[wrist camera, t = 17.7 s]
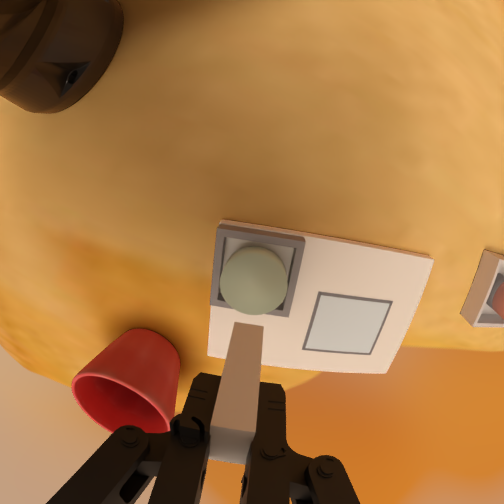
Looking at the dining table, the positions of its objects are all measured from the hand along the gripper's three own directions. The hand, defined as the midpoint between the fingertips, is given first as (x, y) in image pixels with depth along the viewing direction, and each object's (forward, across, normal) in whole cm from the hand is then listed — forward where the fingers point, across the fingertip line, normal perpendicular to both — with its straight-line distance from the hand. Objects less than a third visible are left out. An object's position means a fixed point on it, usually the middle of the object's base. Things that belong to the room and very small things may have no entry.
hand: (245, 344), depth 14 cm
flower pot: (+12, -11, -13) cm, 21 cm away
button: (+8, 0, 0) cm, 8 cm away
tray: (+11, +28, +2) cm, 31 cm away
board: (+11, +6, -3) cm, 13 cm away
